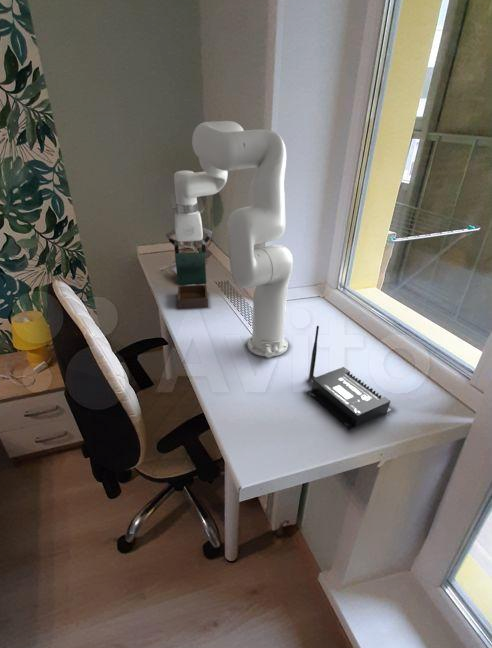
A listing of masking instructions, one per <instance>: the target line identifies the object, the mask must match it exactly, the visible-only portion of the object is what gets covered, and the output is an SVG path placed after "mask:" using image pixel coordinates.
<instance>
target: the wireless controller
mask: <svg viewBox="0 0 492 648" xmlns="http://www.w3.org/2000/svg"><path fill="white" fill-rule="evenodd" d="M319 329H320V326H319V325H316V329H315V337H314V342H313V347H312V352H311V359H310V366H309V374H308V380H309V381H312V382H311V390H308V391H306V394H307V395H309V396H310V397H311V398H312V399H313V400H315V402H317V403H318V404H319V406H321V407H322V408H323V409H324V410H325V411H326V412H327V413H329V414H330V415H331V416H332V417H333V418H334V419H336V421H338V422H339V423H340V424H341V425H342V426H343V427H345V429H347V430H349V431H350V430H352V429H355V428H357V427H359V426H362V425H364V424H366V423H368V422H371V421H373V420H375V419H377V418H379V417H381V416H383V415H385V414H388V413H389V412H391V411H392V408H390V405H391V400H390V399H388V398H387V397H386V396H383V397H382V394H380V395H379V392H377V393H376V390H374V388H372V387H371V388H370V385H368V386H367V383H364V381H362V380H361V379H359V377H356V375H354V374H353V373H351V371H350V370H349V369H347V368H346V367H345V366H342V367H339V368H337V369H334V370H331V371H328V372H326V373H323V374H320V375H318V376H315V375H314V374H315V367H316V360H317V351H318V338H319V337H318V336H319ZM373 390H374V391H373Z"/></svg>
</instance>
